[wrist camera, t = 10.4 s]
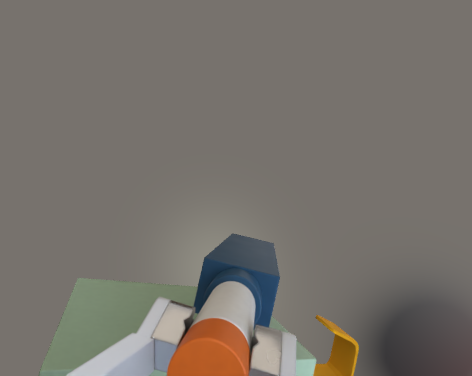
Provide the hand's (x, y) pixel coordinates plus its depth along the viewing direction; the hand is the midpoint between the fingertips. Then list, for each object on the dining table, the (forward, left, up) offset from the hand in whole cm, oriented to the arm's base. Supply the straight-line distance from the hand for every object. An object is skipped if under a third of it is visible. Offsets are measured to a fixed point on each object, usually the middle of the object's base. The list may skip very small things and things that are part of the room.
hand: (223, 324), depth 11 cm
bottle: (-3, -7, -2) cm, 8 cm away
